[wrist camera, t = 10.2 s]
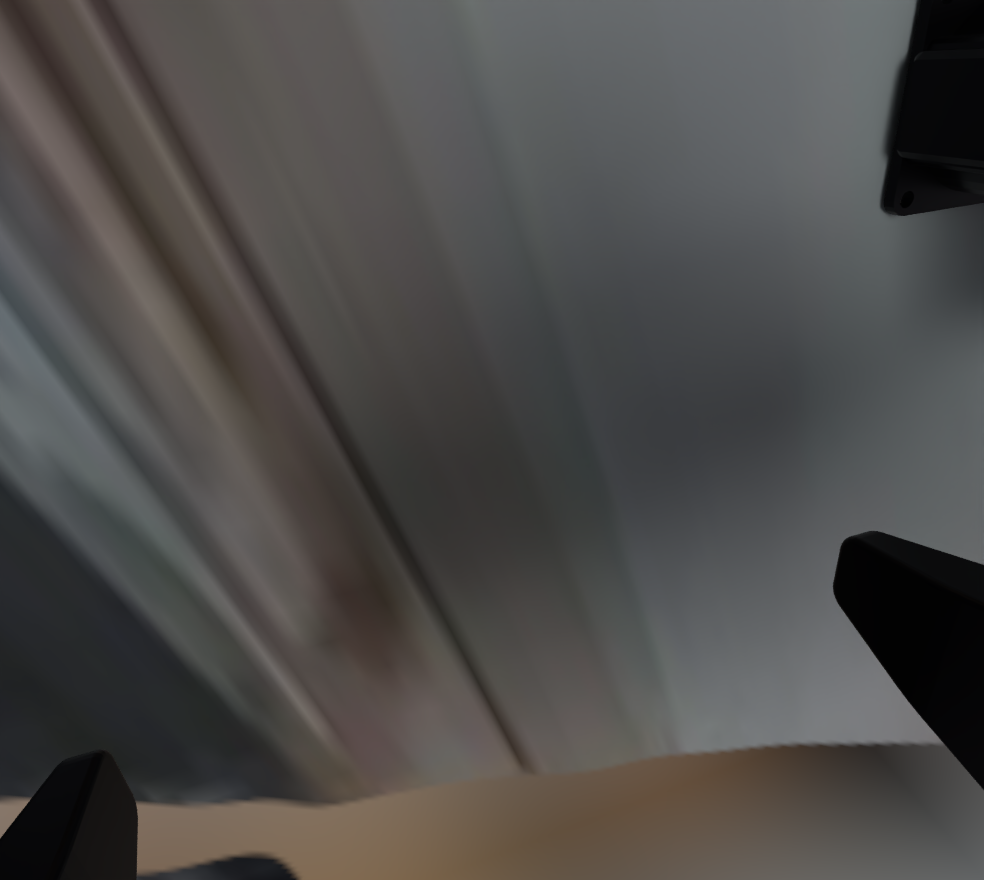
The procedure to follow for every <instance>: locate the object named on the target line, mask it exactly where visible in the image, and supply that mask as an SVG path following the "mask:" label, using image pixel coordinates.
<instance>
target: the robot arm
mask: <svg viewBox="0 0 984 880" xmlns="http://www.w3.org/2000/svg"><path fill="white" fill-rule="evenodd" d="M903 195H904V198H903V200H902V202H901V203H900V200H901V198H902V196H903ZM978 203H984V0H921V4H920V10H919V15H918V20H917V26H916V31H915V37H914V42H913V47H912V53H911V58H910V63H909V69H908V74H907V80H906V85H905V90H904V96H903V101H902V107H901V112H900V117H899V123H898V128H897V134H896V139H895V144H894V150H893V155H892V160H891V166H890V171H889V177H888V182H887V187H886V193H885V198H884V207H885V210H886V211H887V212H888V213H890V214H895V215H900V216H906V215H912V214H918V213H924V212H930V211H936V210H942V209H948V208H954V207H960V206H966V205H972V204H978ZM833 592H834V595H835V598H836V600H837V602H838V604H839V606H840V607H841V609H842V610H843V611H844V613H845V614H846V616H847V617H848V618H849V620H850V621H851V623H852V624H853V625H854V627H855V628H856V630H857V631H858V632H859V634H860V635H861V637H862V638H863V639H864V641H865V642H866V644H867V645H868V646H869V648H870V649H871V651H872V652H873V653H874V655H875V656H876V658H877V659H878V660H879V662H880V663H881V665H882V666H883V667H884V669H885V670H886V672H887V673H888V674H889V676H890V677H891V679H892V680H893V681H894V683H895V684H896V686H897V687H898V688H899V690H900V691H901V692H902V694H903V695H904V696H905V698H906V699H907V700H908V702H909V703H910V704H911V705H912V707H913V708H914V709H915V710H916V711H917V713H918V714H919V715H920V716H921V718H922V719H923V720H924V721H925V722H926V723H927V725H928V726H929V727H930V728H931V729H932V730H933V732H934V733H935V734H936V735H937V736H938V737H939V739H940V740H941V741H942V742H943V743H944V744H945V746H946V747H947V748H948V749H949V750H950V751H951V753H952V754H953V755H954V756H955V757H956V758H957V760H958V761H959V762H960V763H961V764H962V765H963V766H964V768H965V769H966V770H967V771H968V772H969V774H970V775H971V776H972V777H973V778H974V779H975V780H976V782H977V783H978V784H979V785H980V786H981V787H982V789H983V790H984V565H982V564H979V563H976V562H973V561H970V560H966V559H963V558H960V557H957V556H954V555H951V554H948V553H945V552H941V551H938V550H935V549H932V548H929V547H926V546H923V545H920V544H916V543H913V542H910V541H907V540H904V539H901V538H898V537H895V536H891V535H888V534H885V533H882V532H878V531H868V532H865V533H861V534H858V535H854V536H851V537H848V538H846V539H845V540H844V541H843V543H842V545H841V548H840V552H839V557H838V562H837V567H836V572H835V577H834V582H833ZM137 833H138V815H137V807H136V802H135V799H134V796H133V794H132V792H131V790H130V788H129V786H128V784H127V782H126V780H125V779H124V777H123V775H122V773H121V771H120V769H119V767H118V765H117V763H116V761H115V759H114V758H113V756H112V755H111V753H110V752H108V751H107V750H104V749H103V750H96V751H92V752H89V753H85V754H82V755H78V756H75V757H71V758H68V759H66V760H64V761H62V762H61V763H60V764H59V765H58V766H57V767H56V768H55V769H54V770H53V772H52V773H51V774H50V775H49V777H48V778H47V779H46V781H45V782H44V783H43V784H42V786H41V787H40V788H39V790H38V791H37V792H36V793H35V795H34V796H33V797H32V798H31V800H30V801H29V802H28V804H27V805H26V806H25V808H24V809H23V810H22V811H21V813H20V814H19V815H18V816H17V818H16V819H15V821H14V822H13V823H12V824H11V825H10V827H9V828H8V829H7V831H6V832H5V833H4V835H3V836H2V837H1V838H0V880H136V878H137Z"/></svg>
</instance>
